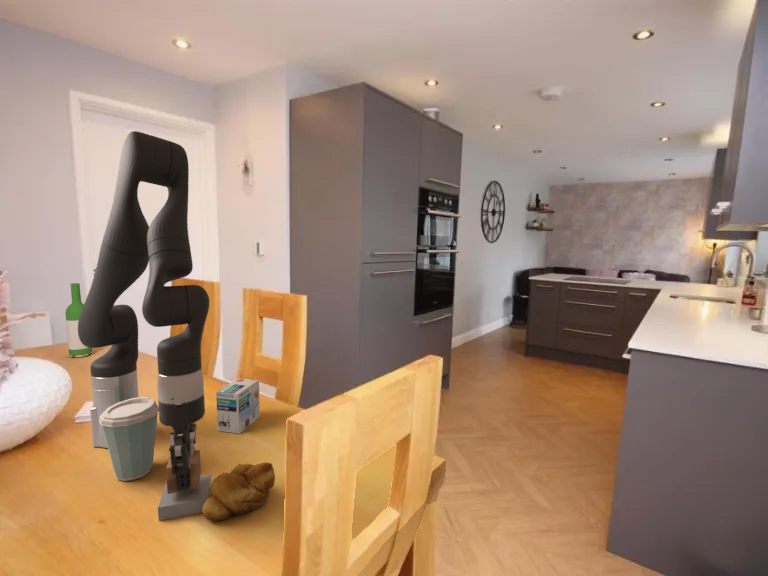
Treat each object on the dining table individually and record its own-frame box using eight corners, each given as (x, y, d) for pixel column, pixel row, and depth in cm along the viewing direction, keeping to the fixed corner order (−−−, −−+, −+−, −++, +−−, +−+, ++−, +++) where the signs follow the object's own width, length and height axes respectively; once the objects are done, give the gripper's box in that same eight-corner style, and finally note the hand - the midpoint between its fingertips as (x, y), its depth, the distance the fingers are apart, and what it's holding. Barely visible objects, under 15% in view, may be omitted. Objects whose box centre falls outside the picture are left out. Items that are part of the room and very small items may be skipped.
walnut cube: (167, 494, 72) (166, 468, 72) (172, 478, 77) (171, 453, 76) (197, 488, 74) (196, 463, 73) (200, 473, 78) (199, 449, 78)
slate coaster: (158, 520, 71) (157, 507, 70) (167, 493, 78) (166, 481, 78) (207, 511, 73) (207, 498, 73) (211, 485, 81) (210, 474, 81)
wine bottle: (74, 359, 160) (68, 285, 156) (65, 356, 164) (59, 283, 160) (96, 354, 167) (90, 283, 163) (87, 351, 171) (81, 282, 167)
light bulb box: (240, 434, 102) (238, 394, 101) (216, 431, 103) (214, 391, 102) (260, 416, 112) (260, 379, 111) (239, 414, 114) (238, 377, 112)
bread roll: (209, 535, 68) (207, 491, 67) (194, 505, 75) (192, 466, 74) (280, 504, 76) (280, 465, 75) (260, 480, 83) (259, 443, 82)
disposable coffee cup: (119, 494, 78) (113, 421, 76) (93, 476, 83) (87, 407, 82) (172, 468, 87) (168, 402, 85) (145, 453, 92) (141, 391, 90)
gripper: (165, 382, 79) (170, 463, 81) (149, 412, 65) (155, 508, 67) (207, 378, 81) (210, 457, 83) (199, 406, 68) (204, 499, 70)
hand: (186, 479), depth 75 cm, fingers closed on walnut cube, 5 cm apart
